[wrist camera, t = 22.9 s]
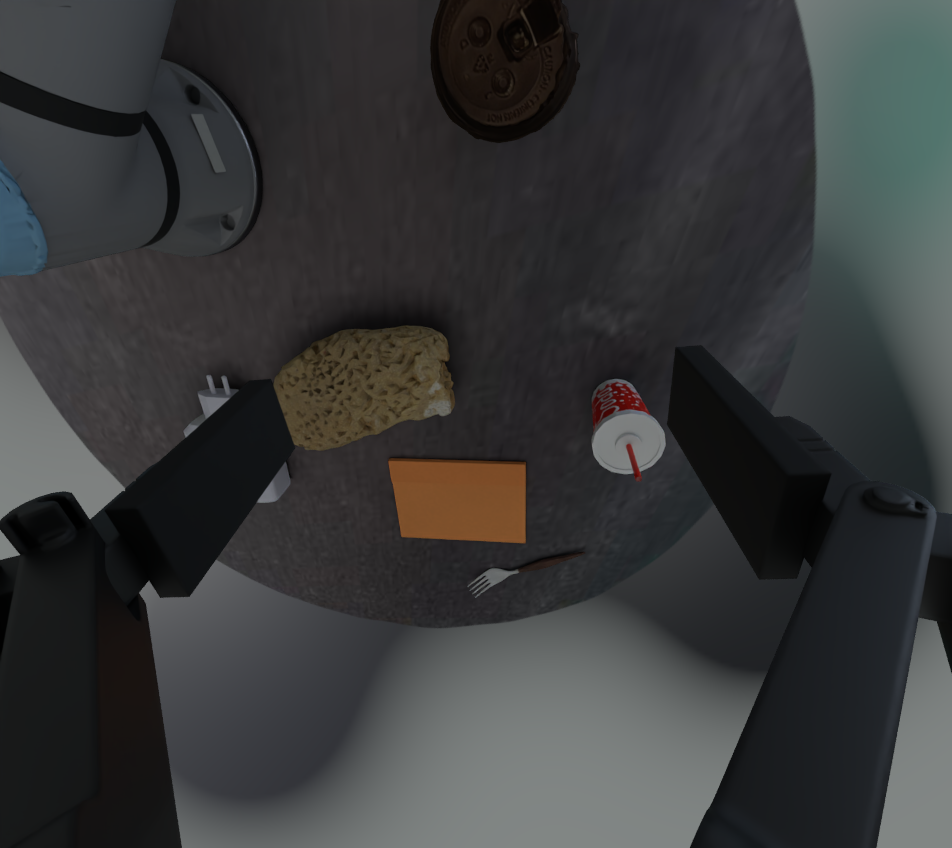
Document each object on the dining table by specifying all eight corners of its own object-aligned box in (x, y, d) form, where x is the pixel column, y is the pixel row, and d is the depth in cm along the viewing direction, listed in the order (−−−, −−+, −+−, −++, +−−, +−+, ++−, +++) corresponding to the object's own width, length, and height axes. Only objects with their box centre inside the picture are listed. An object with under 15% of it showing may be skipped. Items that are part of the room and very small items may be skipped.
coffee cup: (582, 25, 34) (602, -42, 23) (557, 155, 38) (563, 152, 27) (465, 8, 35) (428, -66, 23) (453, 138, 39) (416, 129, 28)
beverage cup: (634, 362, 46) (667, 433, 34) (653, 413, 48) (690, 497, 36) (575, 385, 48) (586, 460, 36) (596, 433, 50) (613, 519, 38)
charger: (268, 369, 52) (293, 480, 59) (191, 364, 53) (224, 474, 60) (245, 386, 47) (274, 504, 55) (160, 381, 48) (201, 497, 56)
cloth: (402, 535, 61) (400, 538, 61) (389, 457, 55) (388, 460, 55) (525, 541, 59) (525, 545, 59) (525, 461, 53) (525, 464, 53)
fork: (588, 556, 59) (590, 568, 57) (477, 587, 64) (475, 599, 62) (580, 542, 58) (582, 553, 56) (468, 574, 63) (466, 586, 61)
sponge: (442, 303, 47) (242, 329, 46) (446, 341, 41) (216, 372, 40) (458, 407, 55) (288, 431, 55) (463, 452, 49) (272, 479, 49)
